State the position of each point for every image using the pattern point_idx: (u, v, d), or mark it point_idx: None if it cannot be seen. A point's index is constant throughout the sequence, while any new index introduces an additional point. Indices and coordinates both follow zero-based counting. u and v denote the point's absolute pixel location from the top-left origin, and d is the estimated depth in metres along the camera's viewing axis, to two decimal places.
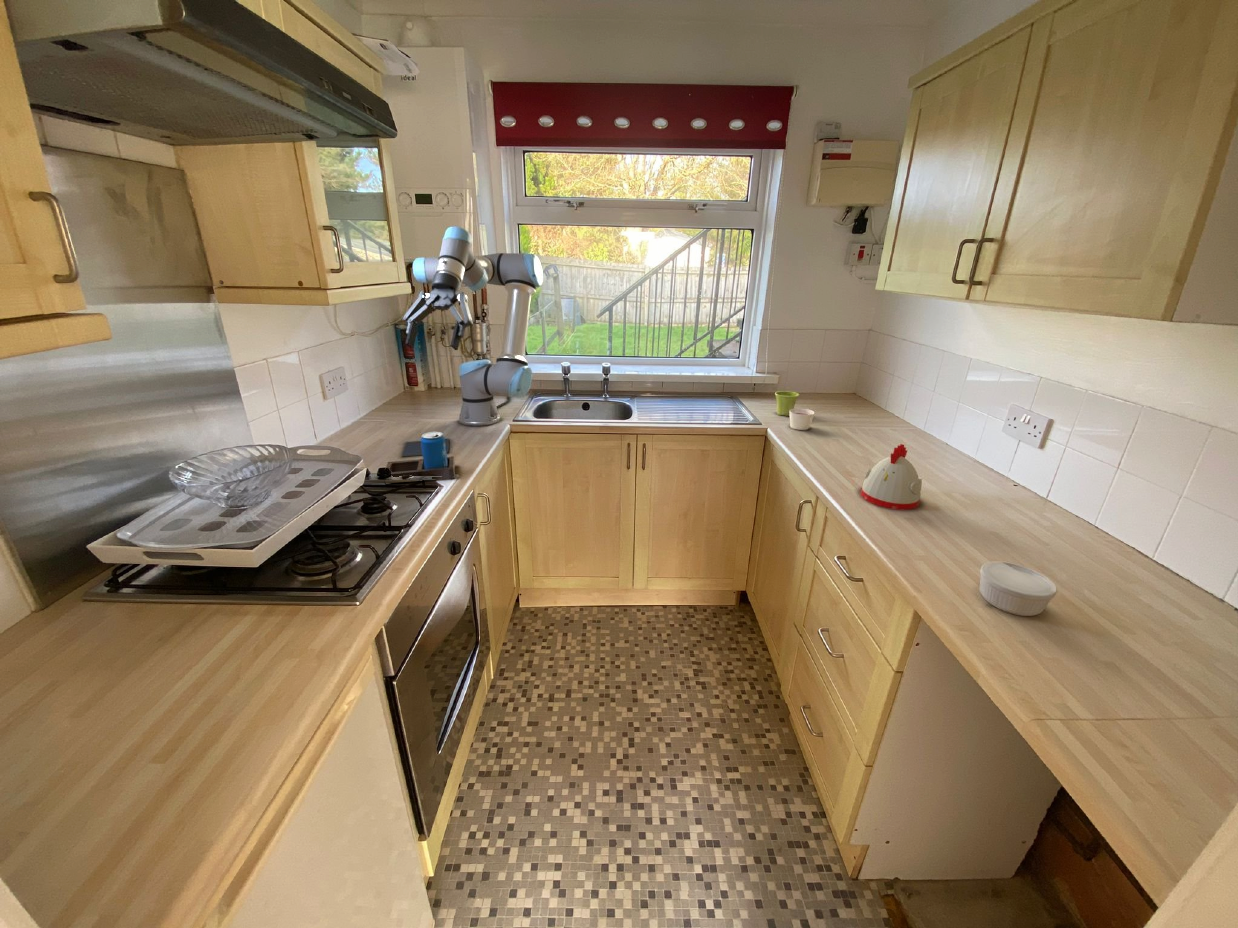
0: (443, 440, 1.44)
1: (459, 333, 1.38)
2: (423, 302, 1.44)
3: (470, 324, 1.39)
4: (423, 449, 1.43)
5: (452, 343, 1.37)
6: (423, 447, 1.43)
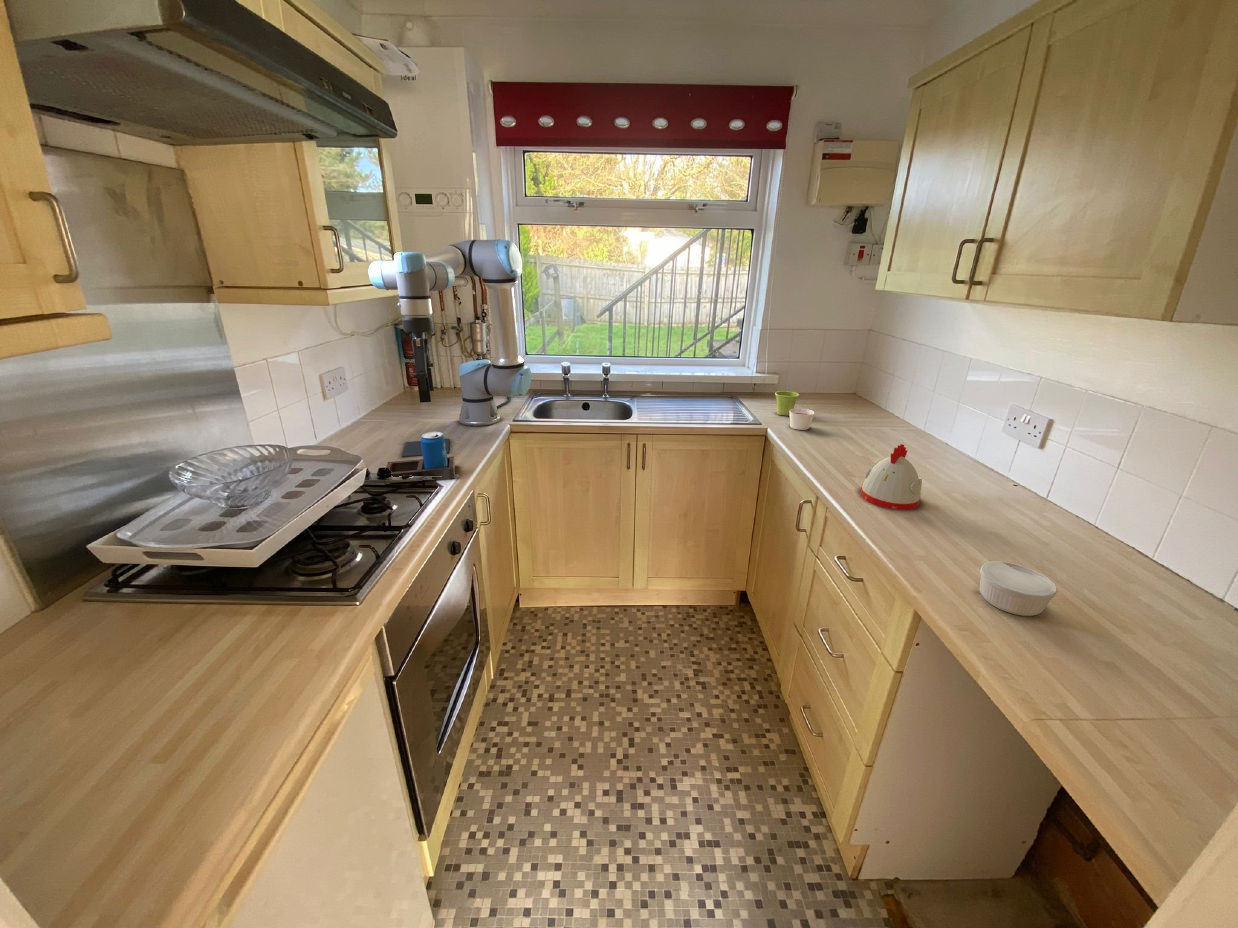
0: (443, 440, 1.44)
1: None
2: None
3: (422, 376, 1.29)
4: (423, 449, 1.43)
5: None
6: (423, 447, 1.43)
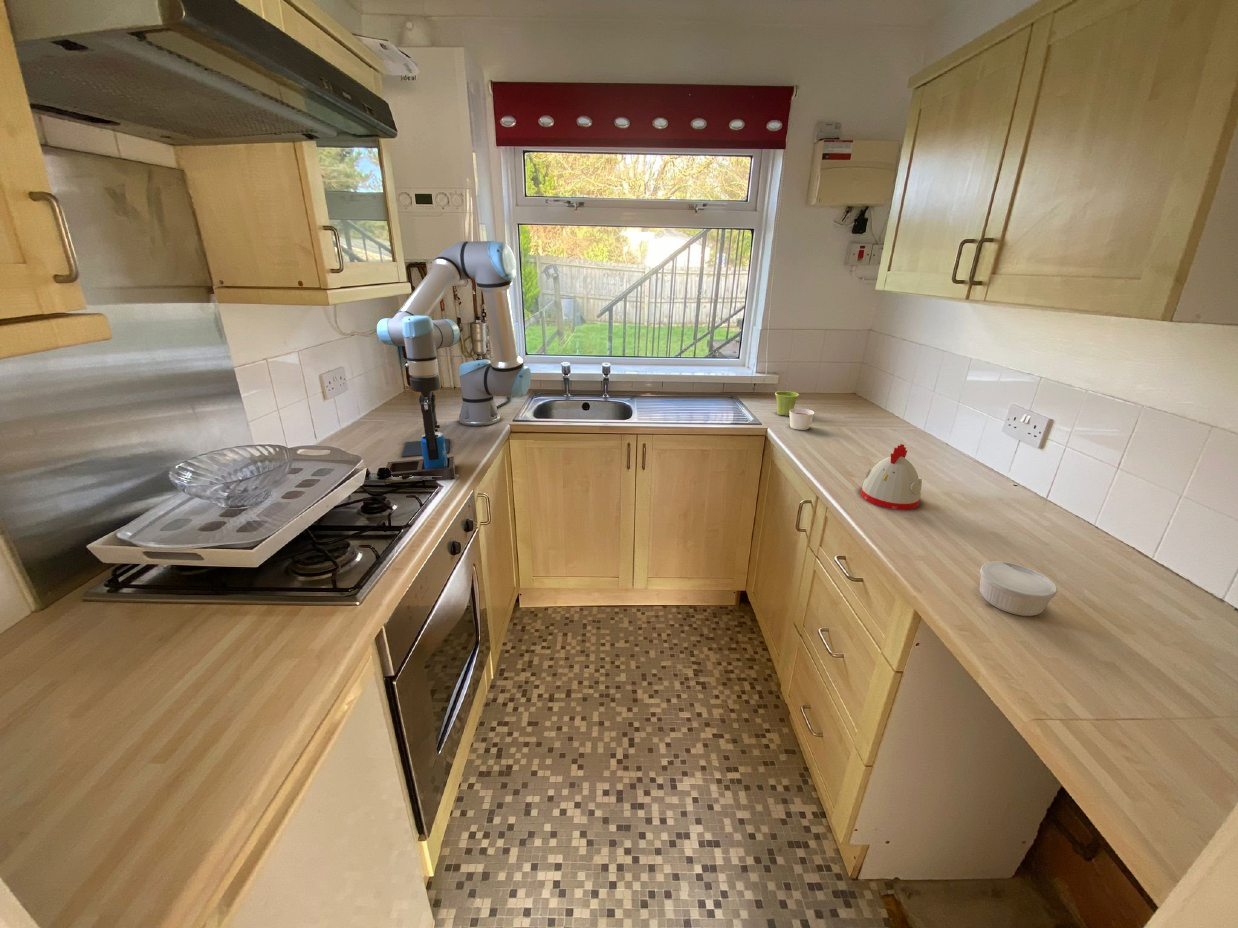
0: (443, 440, 1.44)
1: None
2: None
3: (431, 437, 1.38)
4: (423, 449, 1.43)
5: None
6: (423, 447, 1.43)
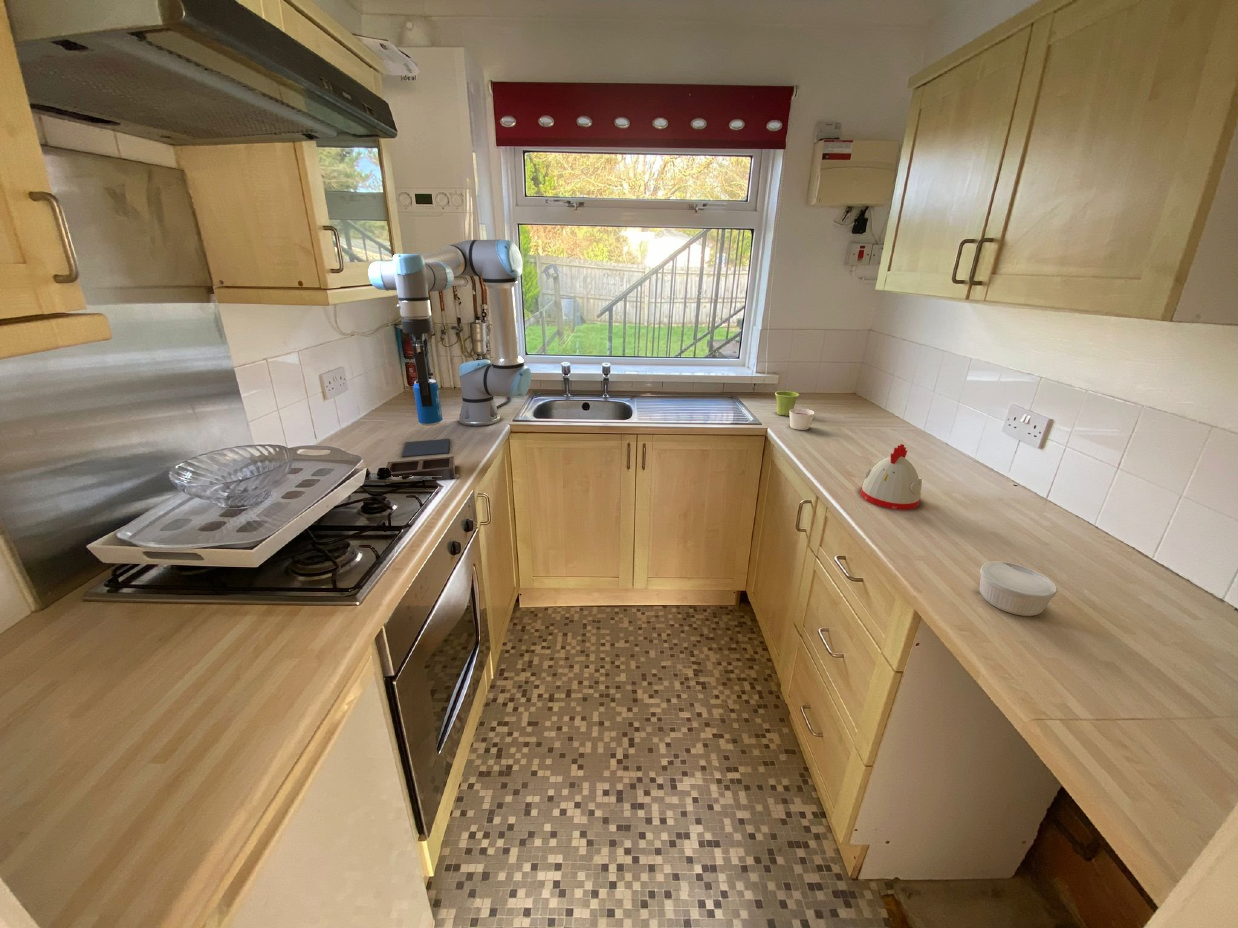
0: (437, 387, 1.40)
1: None
2: None
3: (424, 382, 1.33)
4: (416, 396, 1.39)
5: (422, 404, 1.38)
6: (416, 394, 1.38)
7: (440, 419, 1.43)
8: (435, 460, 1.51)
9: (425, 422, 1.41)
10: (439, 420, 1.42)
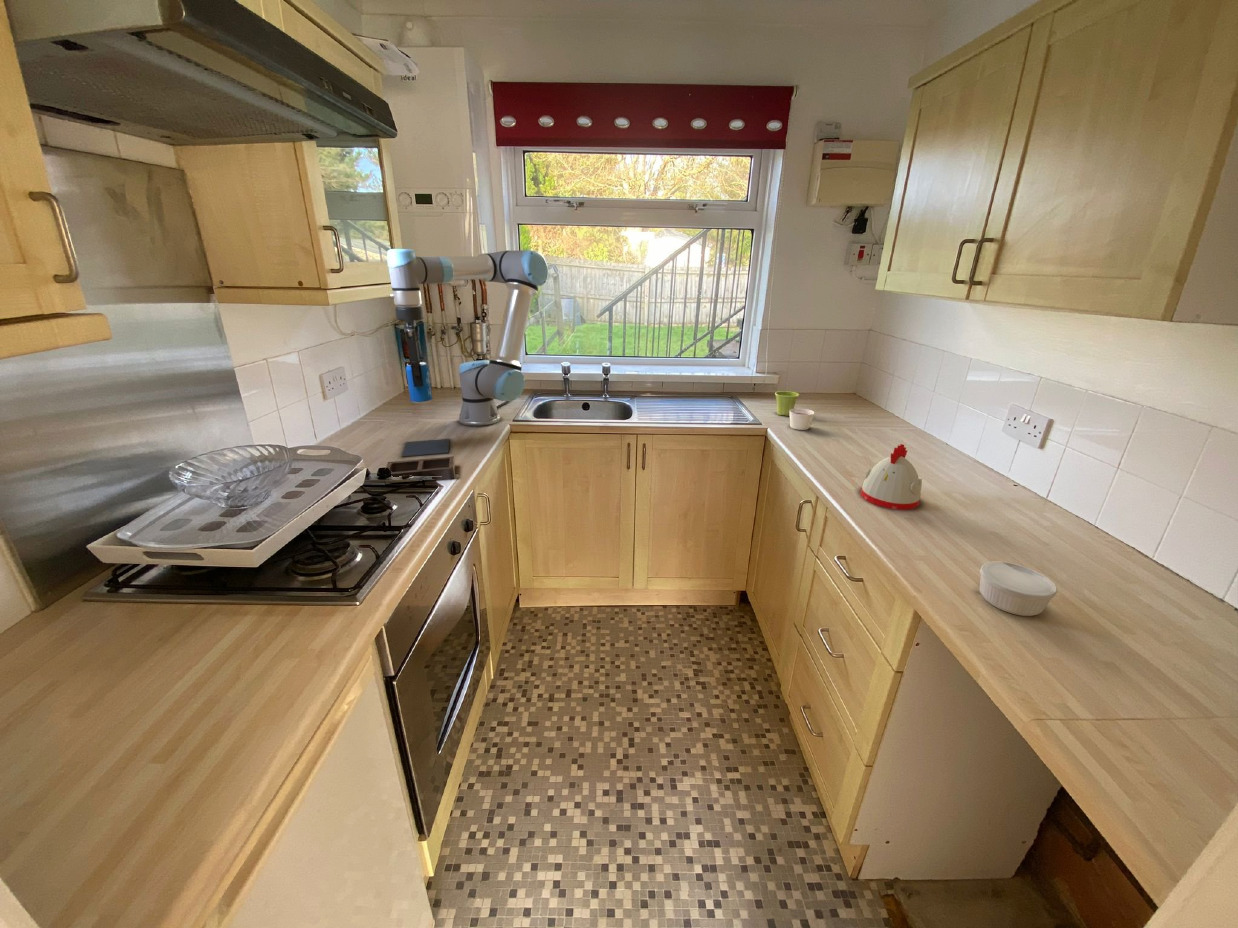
0: (427, 369, 1.56)
1: (414, 373, 1.52)
2: None
3: (415, 363, 1.49)
4: (408, 377, 1.54)
5: None
6: (408, 375, 1.54)
7: (430, 398, 1.59)
8: (435, 460, 1.51)
9: (416, 400, 1.56)
10: (429, 399, 1.58)
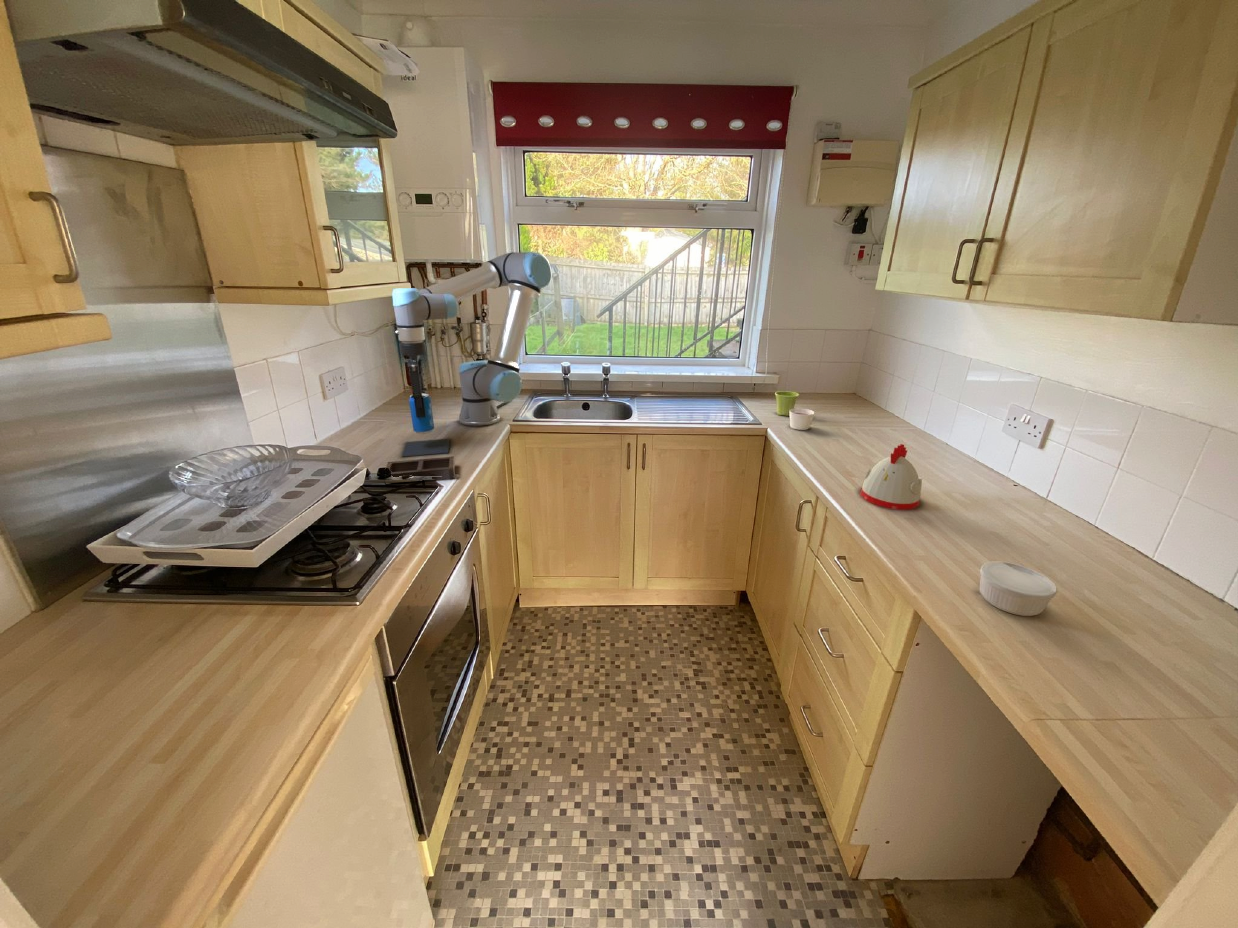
0: (429, 400, 1.62)
1: (416, 405, 1.58)
2: None
3: (418, 396, 1.56)
4: (411, 408, 1.61)
5: (416, 415, 1.60)
6: (411, 406, 1.61)
7: (432, 428, 1.65)
8: (435, 460, 1.51)
9: (419, 430, 1.63)
10: (431, 429, 1.65)
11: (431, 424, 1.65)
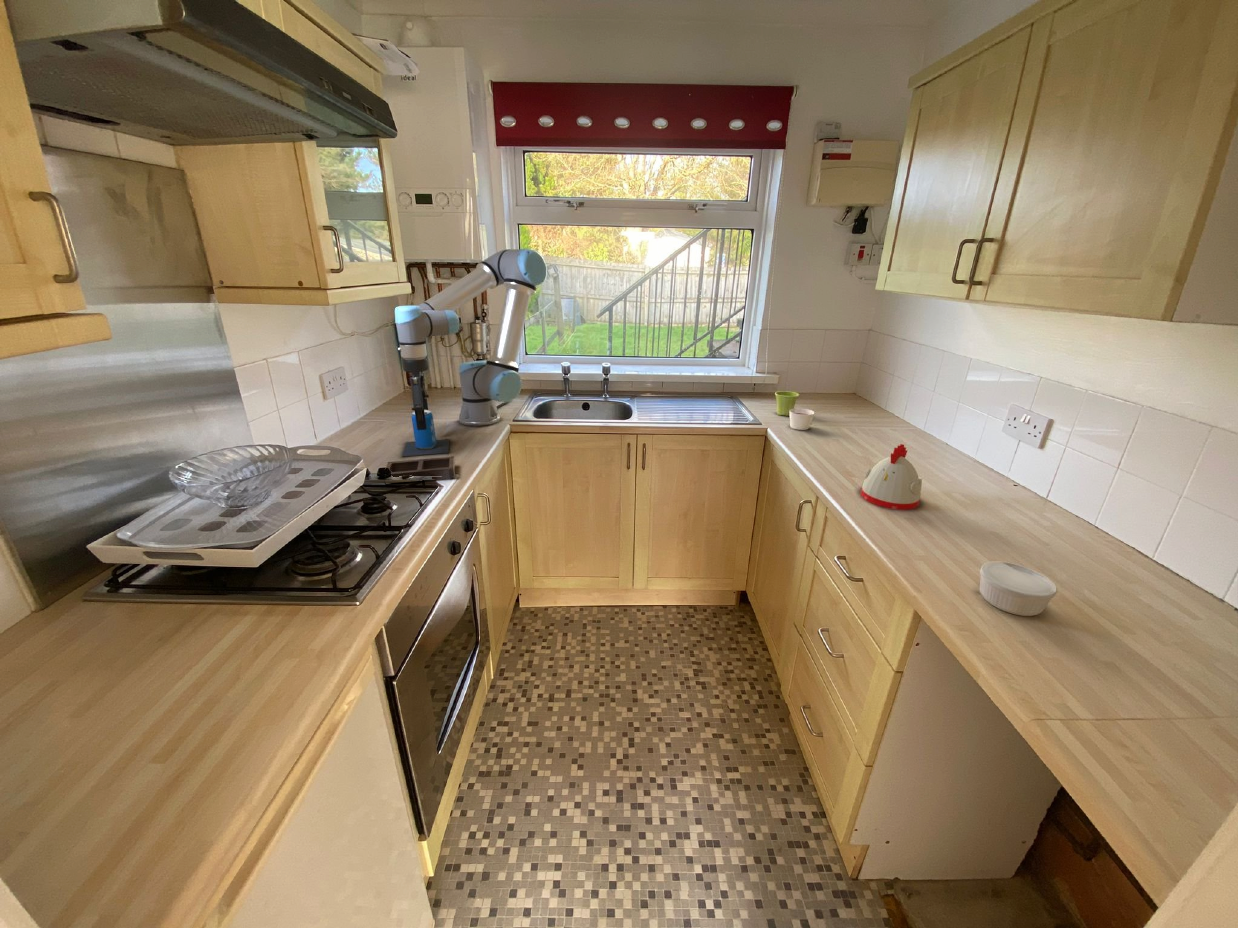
0: (431, 417, 1.64)
1: (417, 418, 1.57)
2: None
3: (419, 409, 1.54)
4: (413, 424, 1.63)
5: (417, 428, 1.59)
6: (413, 423, 1.63)
7: (434, 444, 1.67)
8: (435, 460, 1.51)
9: (421, 446, 1.65)
10: (433, 445, 1.67)
11: (433, 440, 1.67)
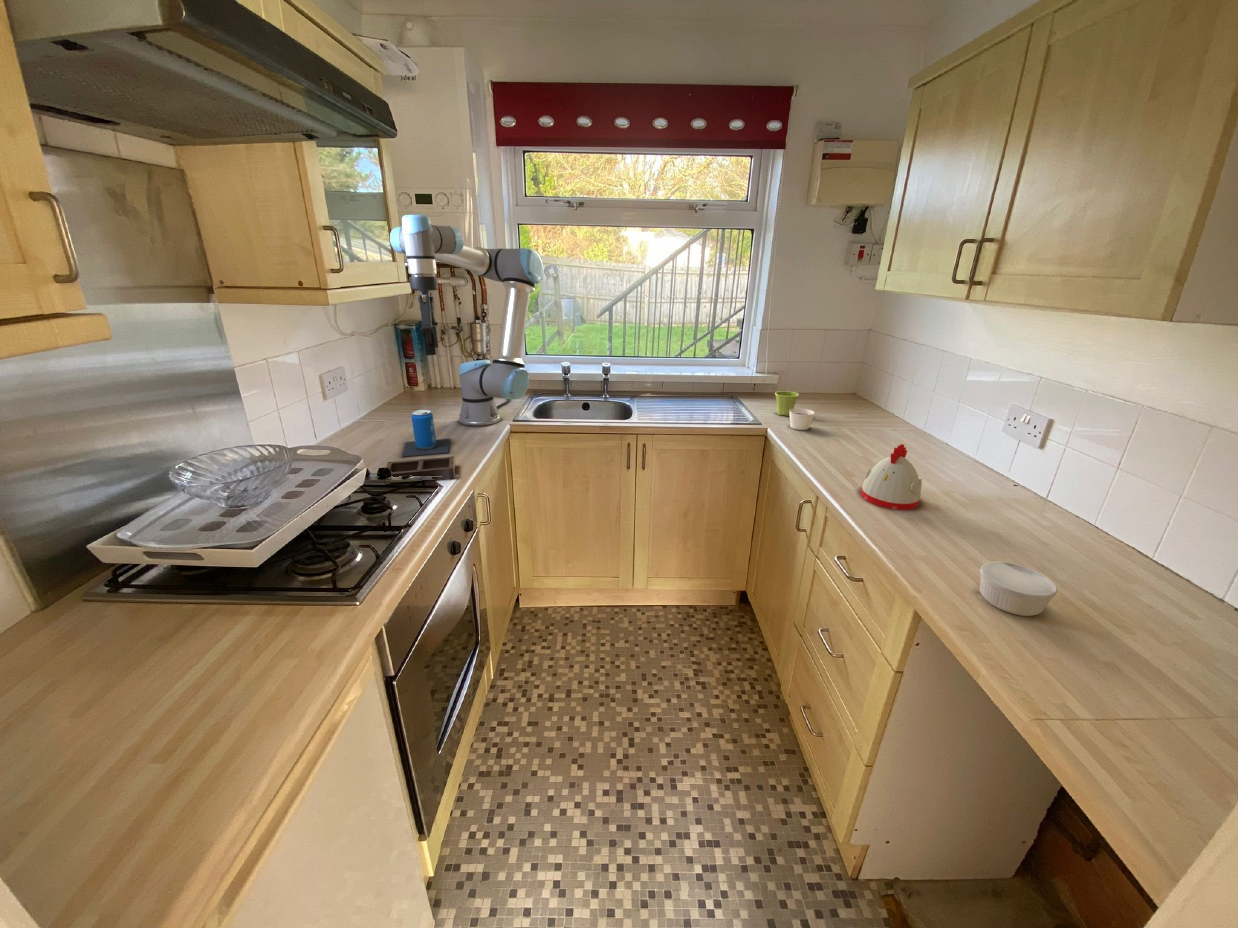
0: (431, 417, 1.64)
1: None
2: None
3: (428, 329, 1.40)
4: (413, 424, 1.63)
5: None
6: (413, 423, 1.63)
7: (434, 444, 1.67)
8: (435, 460, 1.51)
9: (421, 446, 1.65)
10: (433, 445, 1.67)
11: (433, 440, 1.67)
